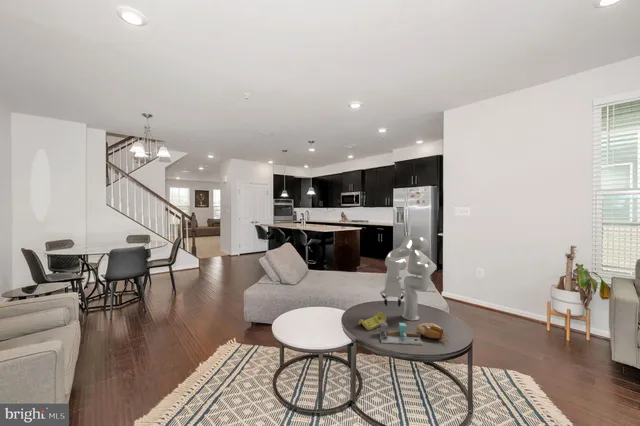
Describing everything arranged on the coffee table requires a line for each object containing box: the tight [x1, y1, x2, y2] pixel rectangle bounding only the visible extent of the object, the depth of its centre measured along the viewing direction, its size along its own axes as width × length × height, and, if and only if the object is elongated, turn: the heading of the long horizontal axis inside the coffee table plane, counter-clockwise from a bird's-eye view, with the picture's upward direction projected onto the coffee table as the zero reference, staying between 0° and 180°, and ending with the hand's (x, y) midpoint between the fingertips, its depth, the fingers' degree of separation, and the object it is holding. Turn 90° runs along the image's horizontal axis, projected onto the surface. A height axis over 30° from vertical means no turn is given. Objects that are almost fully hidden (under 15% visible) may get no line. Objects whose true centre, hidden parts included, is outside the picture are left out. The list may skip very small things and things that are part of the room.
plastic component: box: [357, 311, 387, 331], centre depth 192 cm, size 20×7×10 cm
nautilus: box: [415, 322, 450, 344], centre depth 173 cm, size 8×22×15 cm
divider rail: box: [379, 321, 421, 339], centre depth 172 cm, size 11×25×8 cm, turn 86°
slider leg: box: [398, 322, 408, 339], centre depth 172 cm, size 11×4×8 cm, turn 176°
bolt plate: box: [379, 335, 424, 346], centre depth 169 cm, size 7×25×1 cm, turn 86°
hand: (392, 305), depth 175 cm, fingers open, 7 cm apart
